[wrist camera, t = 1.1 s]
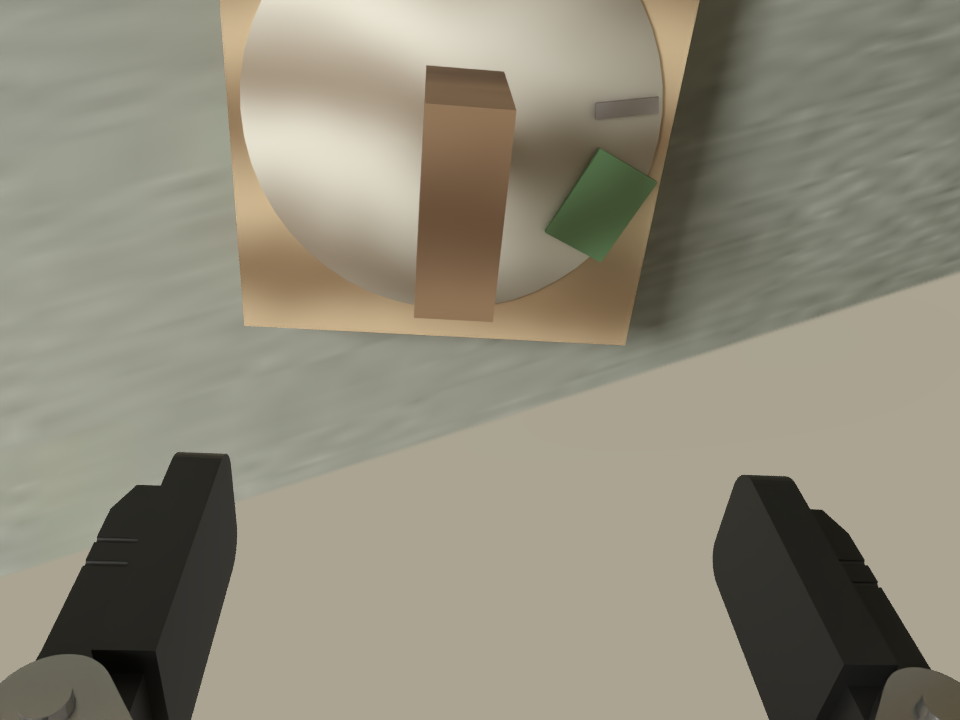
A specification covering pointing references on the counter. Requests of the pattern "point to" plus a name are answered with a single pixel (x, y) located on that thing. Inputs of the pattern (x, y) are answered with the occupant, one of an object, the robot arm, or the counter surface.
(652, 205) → the dial board
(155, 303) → the counter surface
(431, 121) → the key
